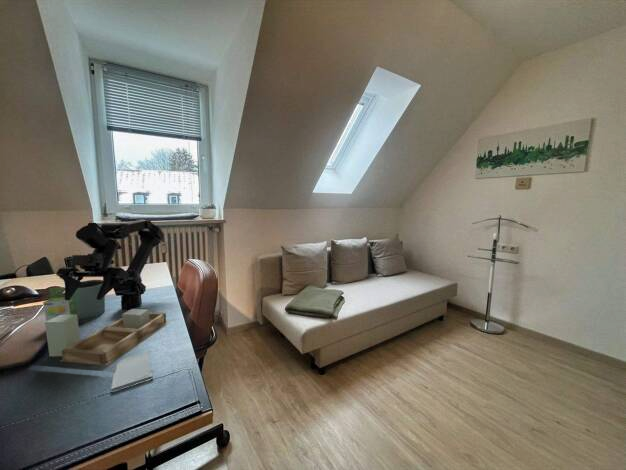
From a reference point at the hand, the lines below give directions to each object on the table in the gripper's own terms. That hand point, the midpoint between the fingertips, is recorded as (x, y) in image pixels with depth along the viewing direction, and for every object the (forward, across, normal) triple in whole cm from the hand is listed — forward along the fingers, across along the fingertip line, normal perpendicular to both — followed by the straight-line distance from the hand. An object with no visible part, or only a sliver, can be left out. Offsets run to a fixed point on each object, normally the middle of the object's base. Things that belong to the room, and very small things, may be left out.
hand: (82, 299), depth 77 cm
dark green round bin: (-2, -13, +23) cm, 26 cm away
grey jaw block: (+7, +13, +11) cm, 18 cm away
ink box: (+4, -15, +15) cm, 22 cm away
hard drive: (+21, +24, -4) cm, 32 cm away
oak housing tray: (+11, +12, +7) cm, 18 cm away
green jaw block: (+15, +1, +2) cm, 15 cm away
